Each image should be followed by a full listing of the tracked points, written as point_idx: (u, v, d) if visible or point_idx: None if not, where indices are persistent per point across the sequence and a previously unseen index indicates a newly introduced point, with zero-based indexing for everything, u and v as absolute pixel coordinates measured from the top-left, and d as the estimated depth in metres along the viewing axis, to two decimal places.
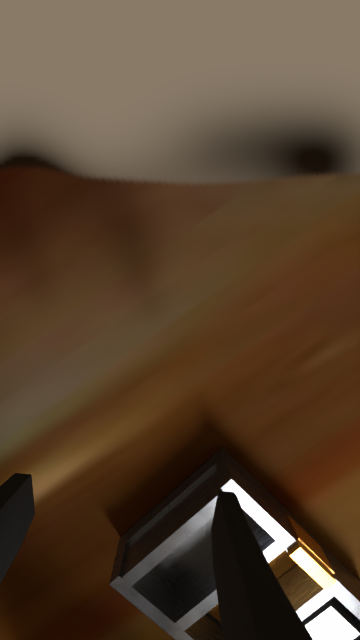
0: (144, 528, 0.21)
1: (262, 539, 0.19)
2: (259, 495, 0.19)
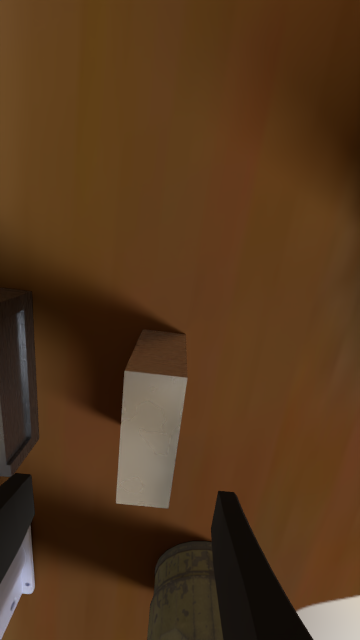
0: None
1: None
2: None
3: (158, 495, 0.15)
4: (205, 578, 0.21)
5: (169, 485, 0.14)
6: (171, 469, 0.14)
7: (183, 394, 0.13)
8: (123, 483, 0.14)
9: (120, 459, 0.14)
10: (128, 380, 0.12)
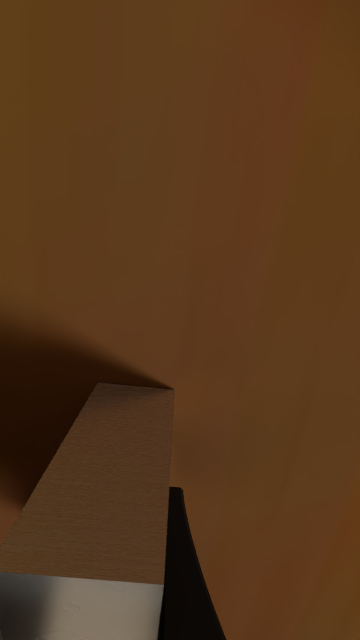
0: None
1: None
2: None
3: None
4: None
5: None
6: None
7: (156, 617, 0.05)
8: None
9: None
10: (2, 590, 0.05)
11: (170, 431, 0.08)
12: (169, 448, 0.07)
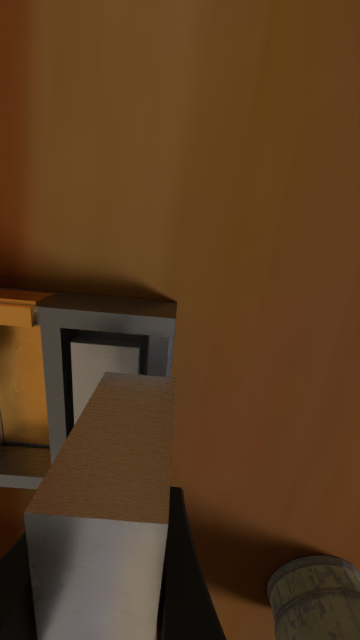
0: None
1: None
2: None
3: None
4: (340, 597, 0.20)
5: None
6: None
7: (161, 554, 0.06)
8: None
9: None
10: (36, 530, 0.06)
11: (172, 412, 0.09)
12: (171, 425, 0.08)
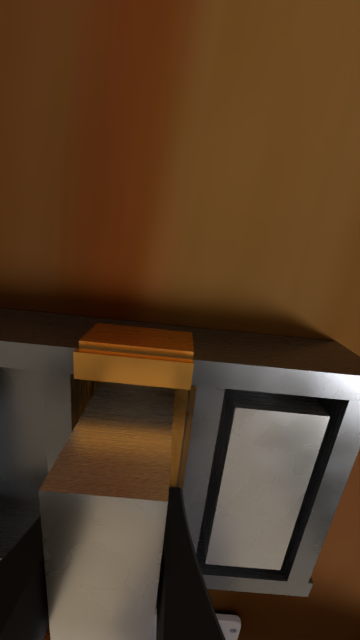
0: None
1: None
2: (1, 325, 0.10)
3: None
4: None
5: None
6: None
7: (162, 529, 0.06)
8: None
9: (53, 627, 0.08)
10: (49, 507, 0.06)
11: (172, 404, 0.10)
12: (171, 416, 0.09)
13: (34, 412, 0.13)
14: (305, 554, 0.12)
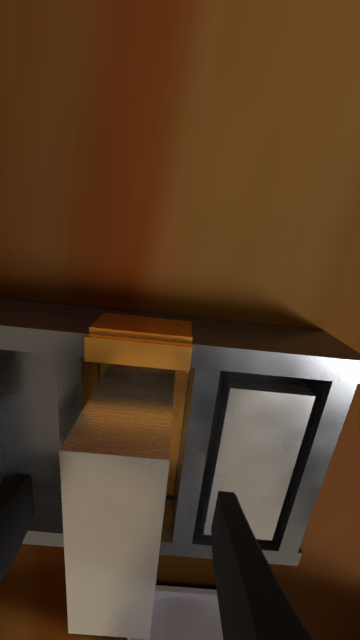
0: None
1: None
2: (17, 314, 0.11)
3: (133, 623, 0.09)
4: None
5: (149, 610, 0.09)
6: (151, 590, 0.09)
7: (164, 485, 0.07)
8: (77, 608, 0.09)
9: (68, 577, 0.09)
10: (67, 465, 0.07)
11: (172, 385, 0.11)
12: (172, 395, 0.10)
13: (44, 397, 0.14)
14: (294, 525, 0.13)
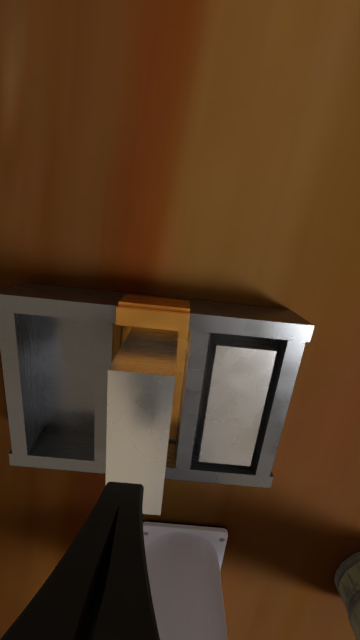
0: None
1: None
2: (65, 294, 0.16)
3: (149, 502, 0.14)
4: None
5: (160, 491, 0.14)
6: (162, 474, 0.13)
7: (172, 394, 0.12)
8: None
9: (107, 464, 0.13)
10: (112, 380, 0.12)
11: (176, 344, 0.15)
12: (175, 348, 0.14)
13: (79, 359, 0.18)
14: (266, 453, 0.17)
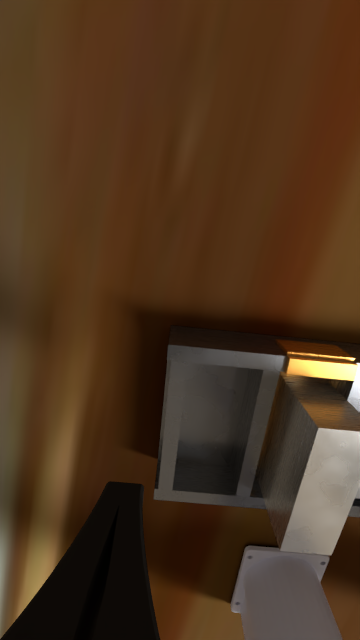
0: (161, 440, 0.20)
1: (257, 378, 0.16)
2: (225, 341, 0.16)
3: (324, 543, 0.15)
4: None
5: (337, 534, 0.14)
6: (344, 519, 0.14)
7: None
8: (291, 532, 0.14)
9: (294, 510, 0.14)
10: (320, 436, 0.12)
11: (336, 390, 0.16)
12: (342, 396, 0.15)
13: (217, 397, 0.19)
14: None
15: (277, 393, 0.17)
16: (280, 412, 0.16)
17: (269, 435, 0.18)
